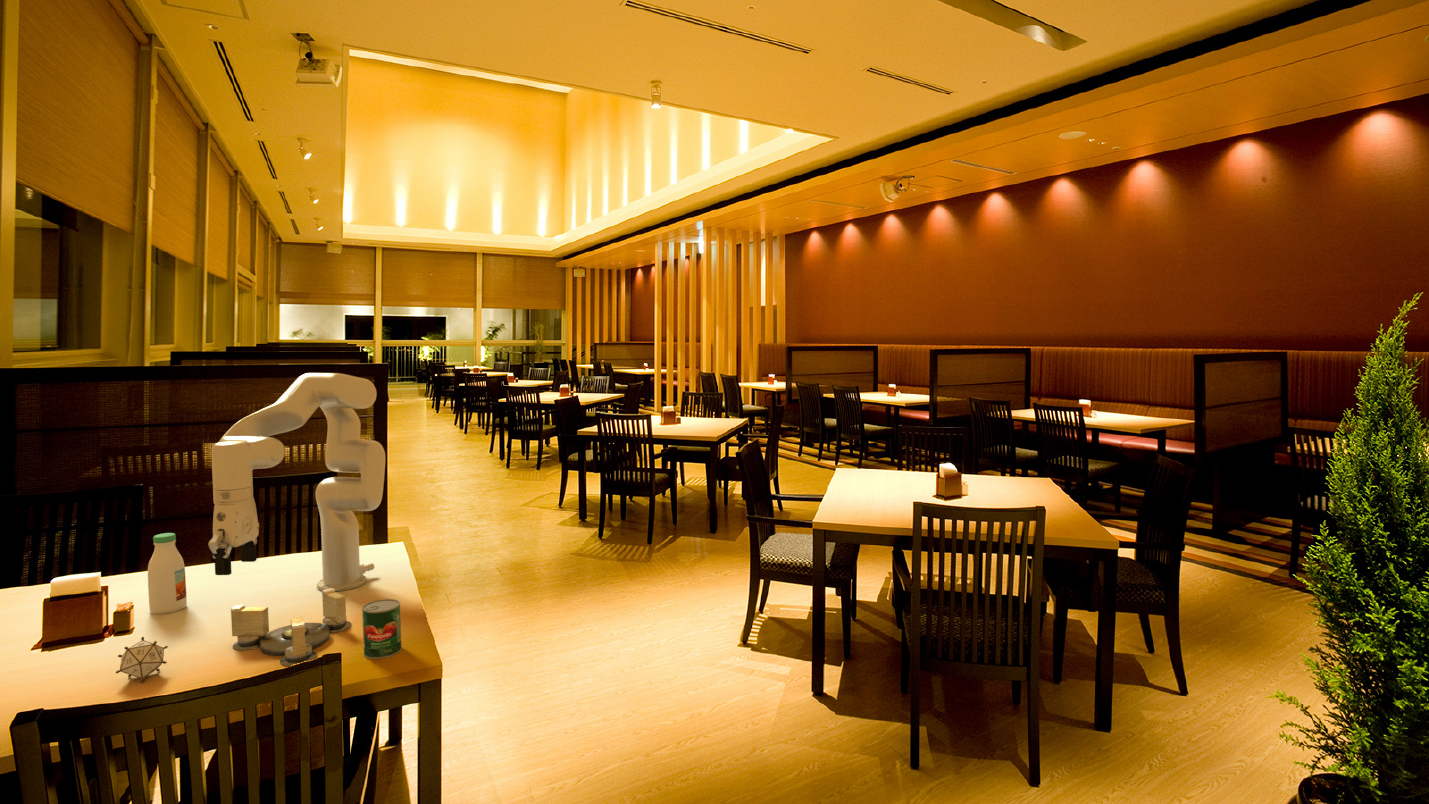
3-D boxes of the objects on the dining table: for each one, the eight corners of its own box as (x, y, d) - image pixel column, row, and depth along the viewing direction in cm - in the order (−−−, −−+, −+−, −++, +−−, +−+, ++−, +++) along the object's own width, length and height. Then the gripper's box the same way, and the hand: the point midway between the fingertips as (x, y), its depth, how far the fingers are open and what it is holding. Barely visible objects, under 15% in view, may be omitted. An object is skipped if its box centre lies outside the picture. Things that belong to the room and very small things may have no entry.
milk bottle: (166, 616, 178) (162, 539, 177) (141, 613, 180) (137, 537, 178) (194, 605, 186) (190, 531, 184) (170, 602, 187) (166, 530, 186)
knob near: (317, 625, 173) (315, 592, 172) (338, 618, 177) (337, 586, 176) (331, 632, 168) (329, 598, 168) (352, 625, 173) (351, 592, 172)
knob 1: (228, 646, 160) (226, 611, 159) (242, 637, 165) (240, 602, 164) (260, 645, 160) (258, 610, 160) (272, 636, 166) (271, 602, 165)
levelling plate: (316, 613, 181) (315, 600, 181) (381, 631, 171) (381, 617, 170) (225, 646, 161) (224, 632, 161) (293, 669, 151) (292, 653, 150)
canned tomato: (394, 641, 165) (392, 596, 164) (407, 652, 160) (405, 605, 159) (358, 651, 160) (356, 604, 159) (370, 662, 154) (369, 614, 153)
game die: (140, 691, 148) (141, 645, 152) (178, 676, 148) (178, 631, 152) (103, 689, 140) (104, 641, 144) (143, 674, 140) (144, 626, 144)
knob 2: (313, 659, 154) (312, 622, 153) (286, 665, 151) (284, 628, 150) (310, 648, 160) (309, 612, 159) (284, 653, 157) (282, 617, 156)
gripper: (227, 503, 151) (230, 580, 153) (271, 487, 169) (274, 556, 170) (191, 503, 151) (194, 580, 152) (238, 487, 168) (241, 557, 169)
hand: (236, 567), depth 161 cm, fingers open, 9 cm apart
